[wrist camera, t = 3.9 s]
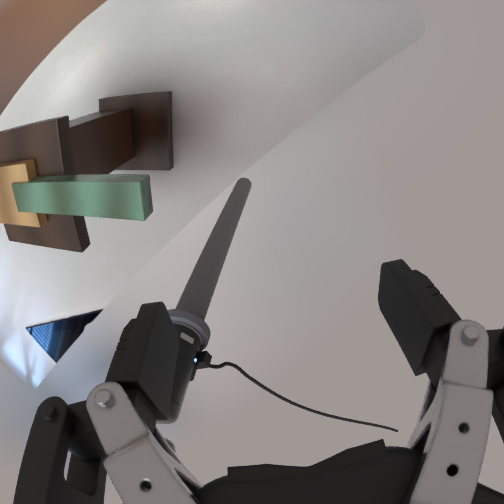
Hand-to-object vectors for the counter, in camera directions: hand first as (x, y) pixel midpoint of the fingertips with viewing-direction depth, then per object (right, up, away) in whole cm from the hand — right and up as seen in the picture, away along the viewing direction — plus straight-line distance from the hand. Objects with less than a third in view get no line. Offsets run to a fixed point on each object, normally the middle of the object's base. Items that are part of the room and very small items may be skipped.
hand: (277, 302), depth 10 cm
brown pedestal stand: (-19, +20, +30) cm, 41 cm away
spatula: (-18, +7, +10) cm, 22 cm away
